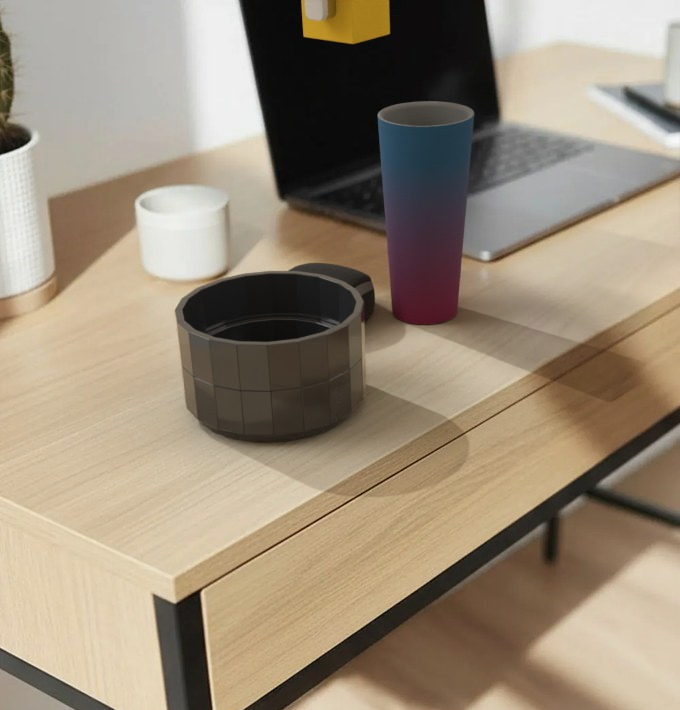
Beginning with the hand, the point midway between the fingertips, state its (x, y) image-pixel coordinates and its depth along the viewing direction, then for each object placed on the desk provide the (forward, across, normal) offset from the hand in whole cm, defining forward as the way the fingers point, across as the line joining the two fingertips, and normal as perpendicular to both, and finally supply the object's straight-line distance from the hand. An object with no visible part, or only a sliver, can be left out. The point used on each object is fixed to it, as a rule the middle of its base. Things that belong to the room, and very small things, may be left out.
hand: (346, 12), depth 87 cm
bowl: (+21, -19, -10) cm, 30 cm away
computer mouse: (+21, -8, -3) cm, 23 cm away
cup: (+21, -1, -8) cm, 22 cm away
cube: (+2, 0, 0) cm, 2 cm away
